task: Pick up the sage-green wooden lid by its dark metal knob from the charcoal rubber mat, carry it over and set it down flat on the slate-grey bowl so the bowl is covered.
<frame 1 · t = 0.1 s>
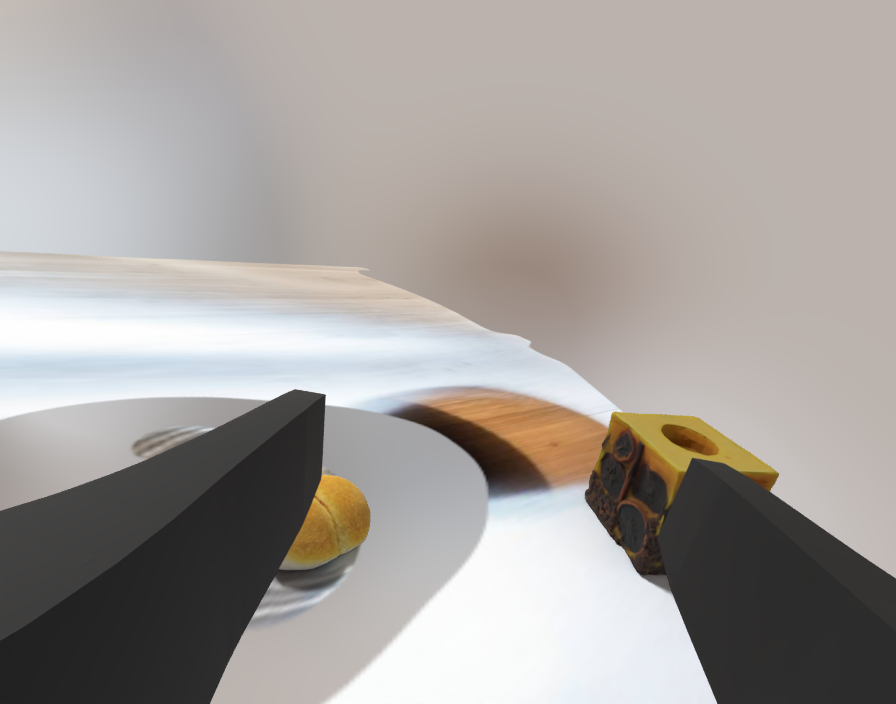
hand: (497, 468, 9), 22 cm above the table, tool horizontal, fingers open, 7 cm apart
bread roll: (308, 535, 36), on the table
yellow patterned cube: (653, 534, 43), on the table
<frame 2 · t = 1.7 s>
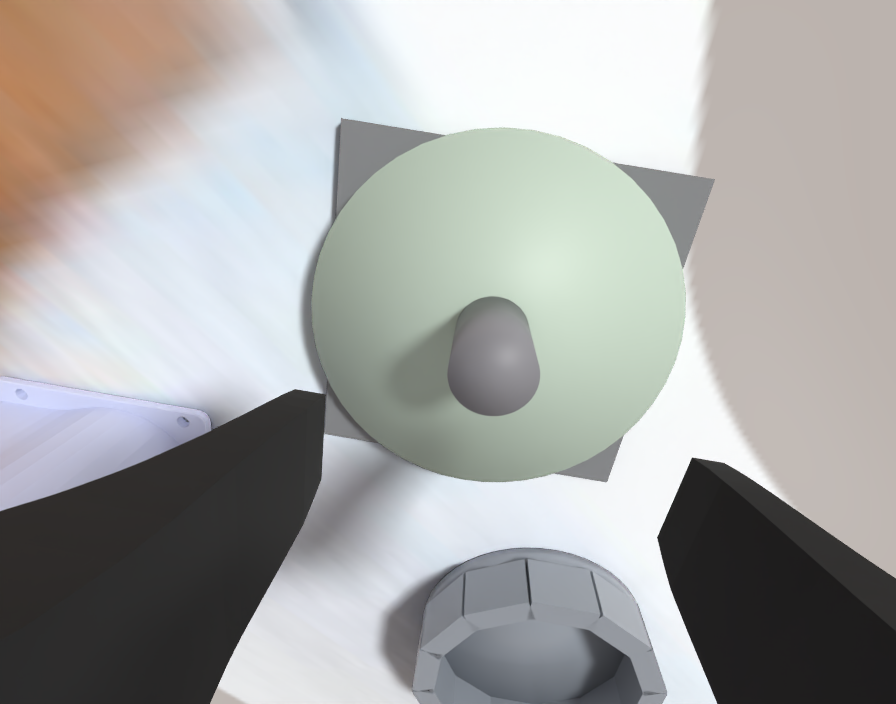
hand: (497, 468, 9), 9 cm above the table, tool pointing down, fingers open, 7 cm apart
mat: (491, 321, 17), on the table
lid: (491, 324, 17), resting on mat
bowl: (530, 629, 24), on the table
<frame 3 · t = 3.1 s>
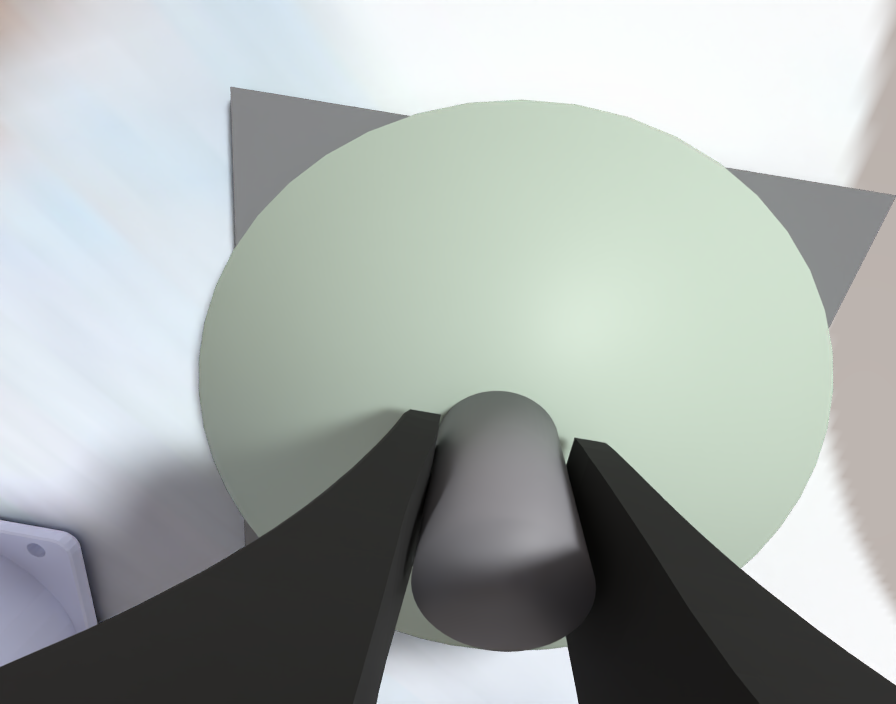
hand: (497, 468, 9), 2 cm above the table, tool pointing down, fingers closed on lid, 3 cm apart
mat: (495, 416, 11), on the table
lid: (496, 424, 11), resting on mat, touching gripper
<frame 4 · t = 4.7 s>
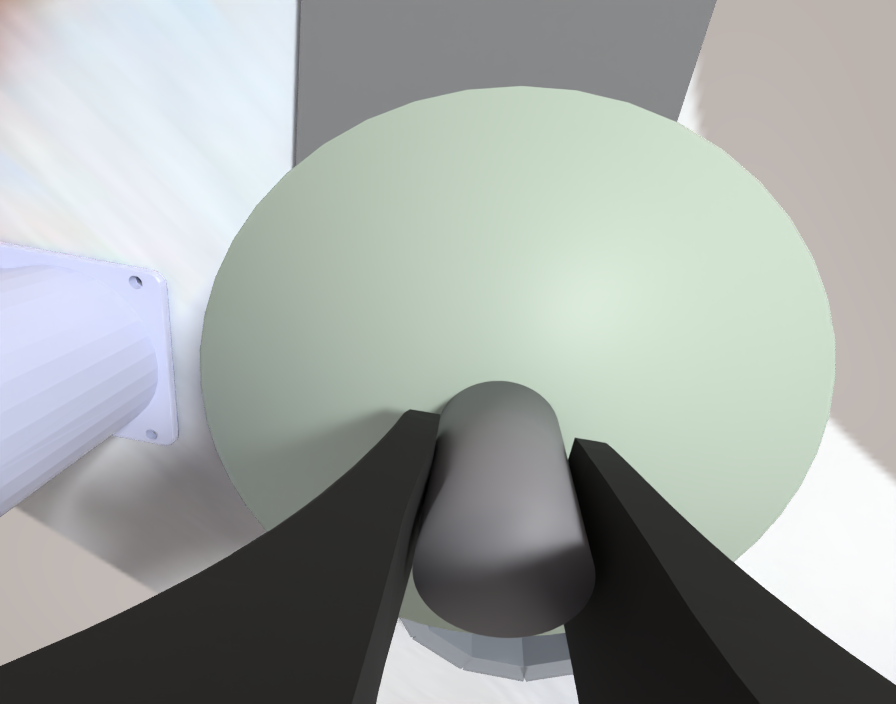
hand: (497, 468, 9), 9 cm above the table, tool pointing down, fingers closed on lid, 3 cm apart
mat: (475, 156, 16), on the table
lid: (497, 414, 11), point 8 cm above the table, touching gripper
bowl: (515, 537, 22), on the table
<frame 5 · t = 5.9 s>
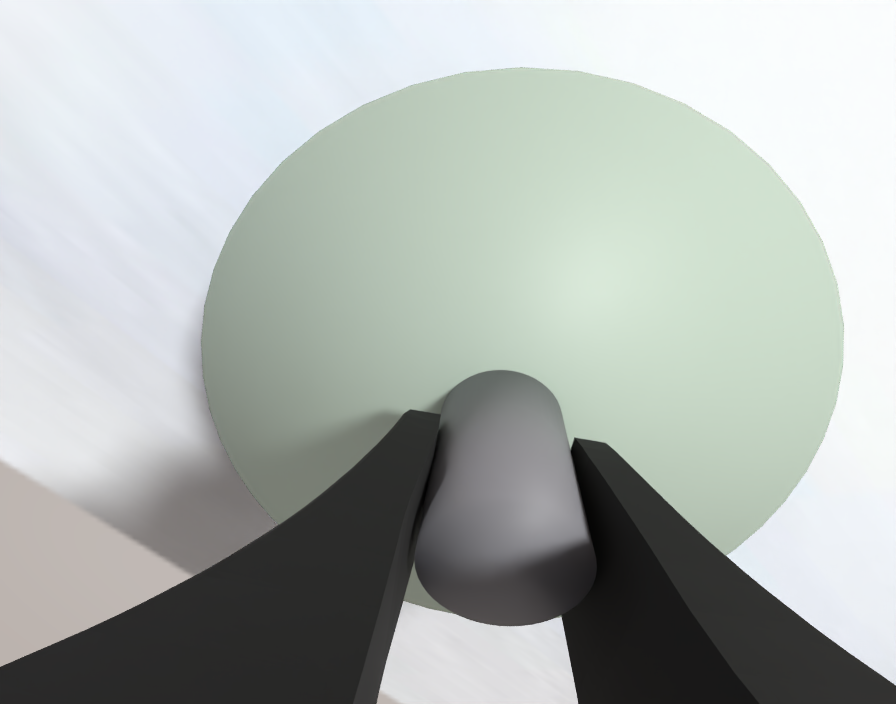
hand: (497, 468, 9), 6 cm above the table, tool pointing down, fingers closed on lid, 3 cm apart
lid: (499, 403, 11), point 5 cm above the table, touching gripper
when the fingers open (6 cm above the table, at t = 6.7 s): lid stays where it is, resting on bowl.
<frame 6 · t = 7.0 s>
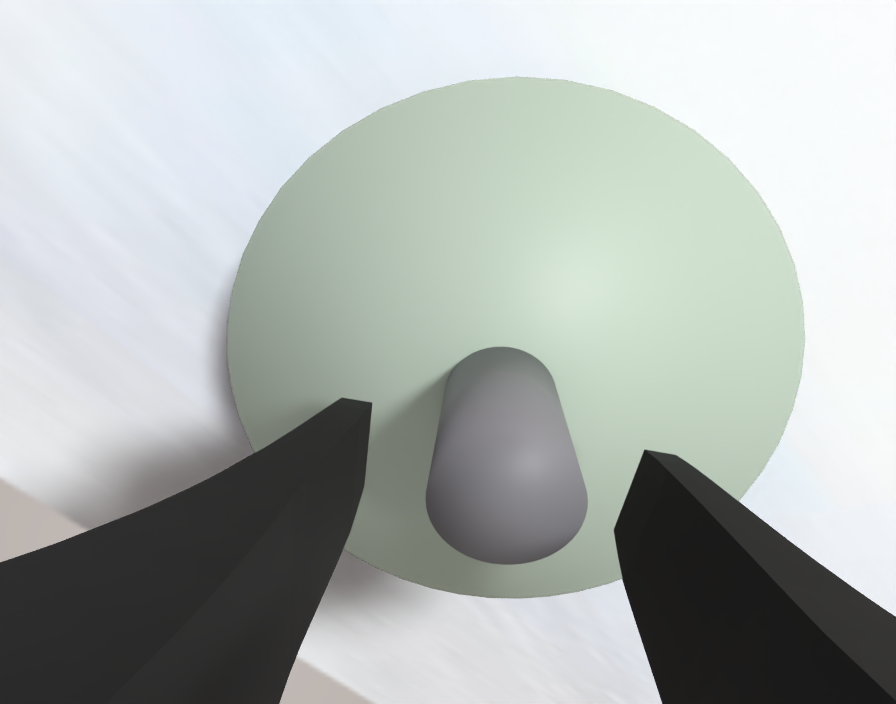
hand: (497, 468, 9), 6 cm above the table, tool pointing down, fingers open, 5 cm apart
lid: (499, 382, 12), point 3 cm above the table, touching bowl
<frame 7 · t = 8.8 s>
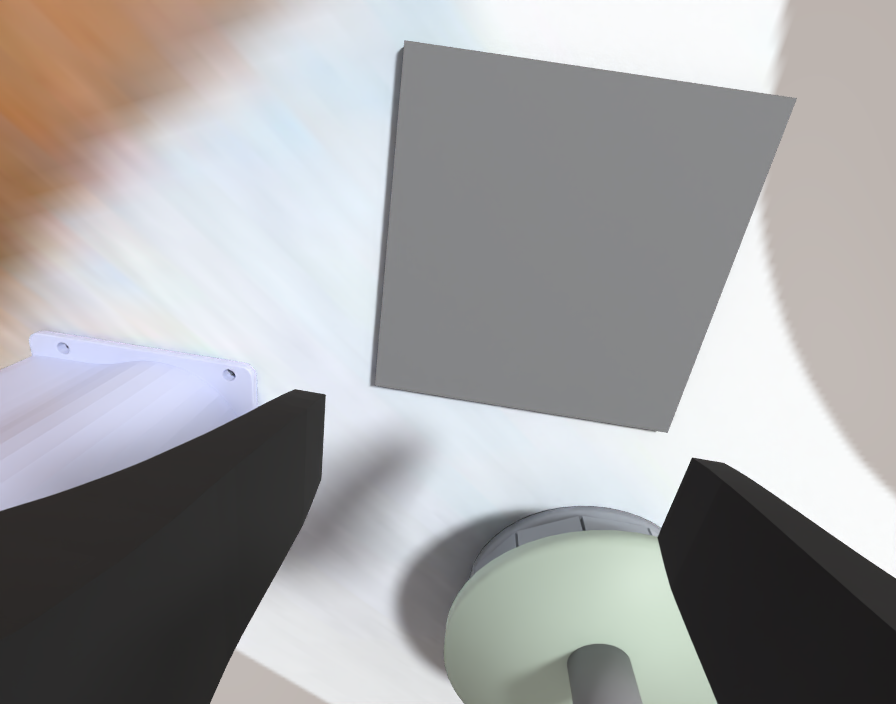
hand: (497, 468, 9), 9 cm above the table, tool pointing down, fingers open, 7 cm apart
mat: (552, 261, 17), on the table
lid: (594, 646, 20), point 3 cm above the table, touching bowl
bowl: (579, 594, 23), on the table
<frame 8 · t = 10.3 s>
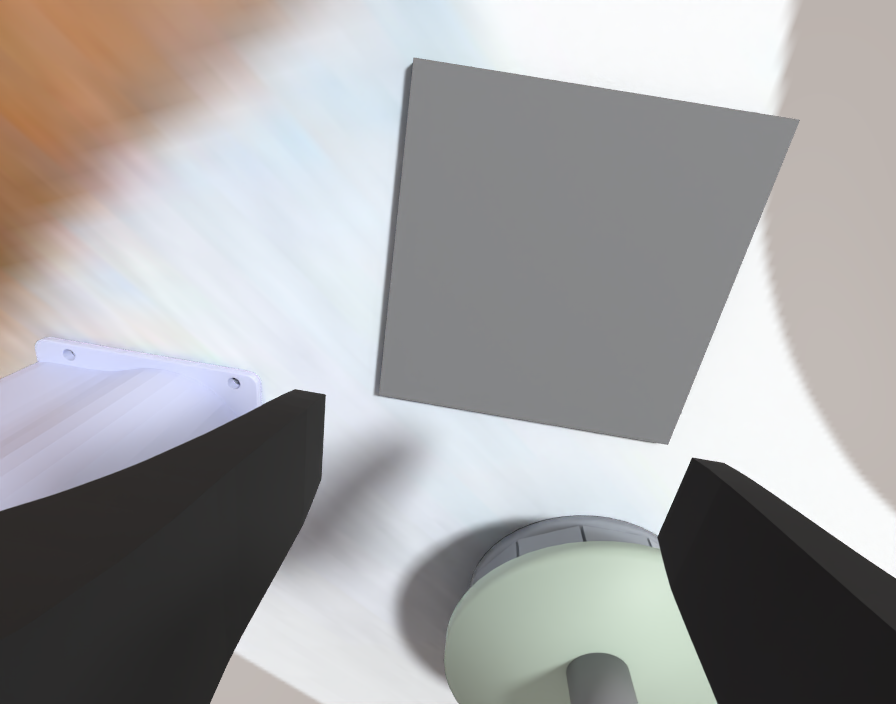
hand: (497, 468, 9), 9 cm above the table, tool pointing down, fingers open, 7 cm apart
mat: (556, 275, 17), on the table
lid: (593, 654, 20), point 3 cm above the table, touching bowl
bowl: (578, 601, 23), on the table
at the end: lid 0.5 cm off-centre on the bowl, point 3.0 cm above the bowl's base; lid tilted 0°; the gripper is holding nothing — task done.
